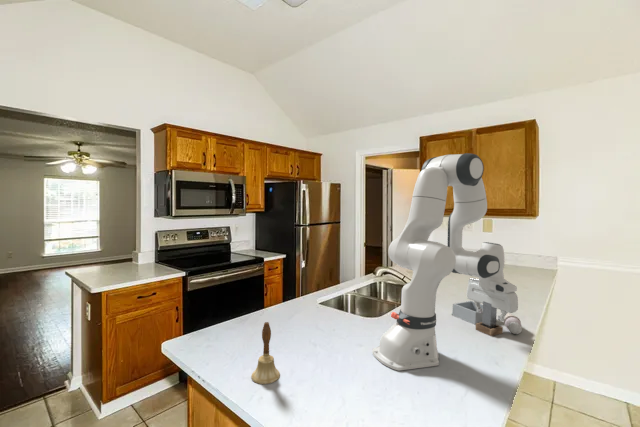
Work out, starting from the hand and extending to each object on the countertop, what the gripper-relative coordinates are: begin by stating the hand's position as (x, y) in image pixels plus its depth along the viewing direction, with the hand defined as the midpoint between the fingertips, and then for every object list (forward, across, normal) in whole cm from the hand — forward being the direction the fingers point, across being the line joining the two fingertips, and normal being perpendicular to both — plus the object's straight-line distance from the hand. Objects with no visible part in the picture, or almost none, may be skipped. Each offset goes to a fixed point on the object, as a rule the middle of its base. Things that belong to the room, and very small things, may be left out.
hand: (489, 316), depth 126 cm
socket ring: (+6, 0, 0) cm, 6 cm away
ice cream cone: (+6, +2, +11) cm, 13 cm away
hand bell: (+5, -5, -91) cm, 92 cm away
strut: (+6, 0, 0) cm, 6 cm away
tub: (+6, -13, +7) cm, 16 cm away
